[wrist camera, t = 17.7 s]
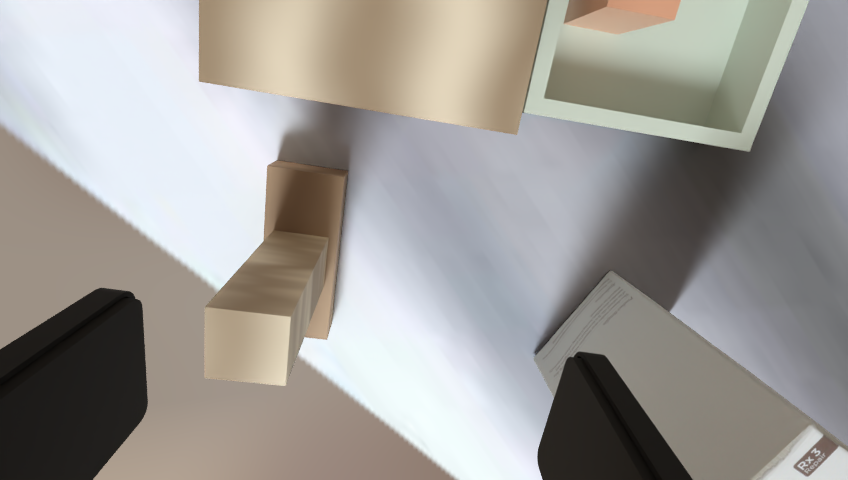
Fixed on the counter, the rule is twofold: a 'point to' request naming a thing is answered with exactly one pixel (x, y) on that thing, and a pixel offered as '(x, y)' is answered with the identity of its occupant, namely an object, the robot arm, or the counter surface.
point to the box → (668, 70)
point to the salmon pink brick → (620, 14)
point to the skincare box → (694, 392)
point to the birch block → (379, 54)
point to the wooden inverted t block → (280, 279)
